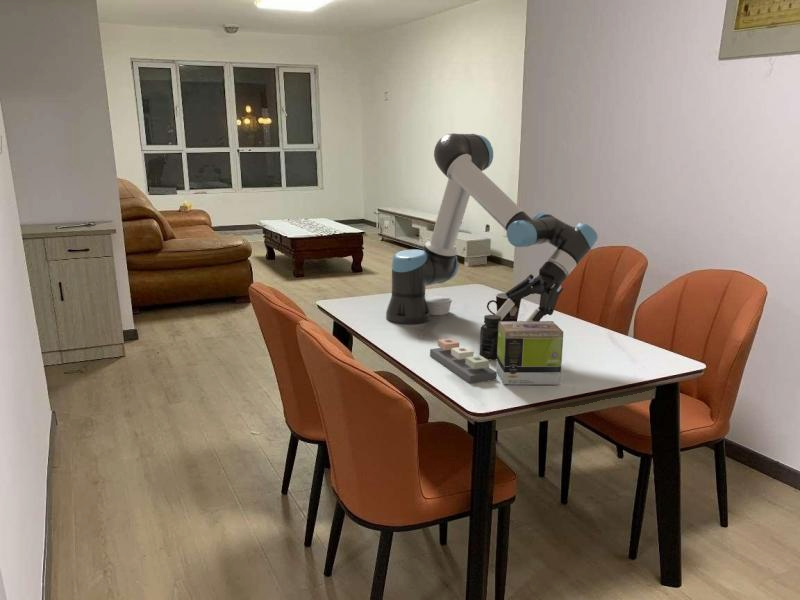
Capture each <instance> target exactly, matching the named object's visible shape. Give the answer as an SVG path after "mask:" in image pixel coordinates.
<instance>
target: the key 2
mask: <svg viewBox="0 0 800 600" xmlns="http://www.w3.org/2000/svg"><path fill="white" fill-rule="evenodd" d="M465 364H466V365H468V366H470V367H471V368H473V369H480V368H487V367H489V368H490V360H489V359H486V358H484V357H482V356H481V355H480V354H479V355H473V356H472V357H466V360H465Z"/></svg>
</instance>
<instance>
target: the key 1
mask: <svg viewBox="0 0 800 600" xmlns="http://www.w3.org/2000/svg"><path fill="white" fill-rule="evenodd" d="M437 347H438V348H442V349H443V350H445V351H446V350H451V348H457V347H460V342H459V341H457V340H455V339H454V338H453V337H450V338H443V339H442V338H441V339H437Z"/></svg>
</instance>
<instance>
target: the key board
mask: <svg viewBox="0 0 800 600" xmlns="http://www.w3.org/2000/svg"><path fill="white" fill-rule="evenodd" d="M429 357H431V358H432V357H433V358H432V359H434V360H435V359H436V362H438V361H439V362H438V363H440V364H442V365H443V366H444V367H445V368H447V369H449V370H450V371H451V372H453V373H454V374H455V375H457V376H458V377H460V378H461V379H463V380H465V381H466V383H468V384H475V383H476V384H477V383H482V381H483V382H488V380H490V381H495V380H494V379H496V380H497V375H498V373H497V371H496V370H493V369H492V368H490V366H489V367H487V368H480V369H473V368H471V367H470V366H468V365H466V364H465V360H466V359H457V358H456V357H454V356H453V355H451V350H446V351H445V350H443V349H442V348H440V347H438V348H430V350H429Z"/></svg>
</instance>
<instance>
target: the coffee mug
mask: <svg viewBox="0 0 800 600" xmlns="http://www.w3.org/2000/svg"><path fill="white" fill-rule="evenodd" d="M506 293H507V292H500V293H496V294H495V300H494V299H492V300H489V301H488V302H487V304H486V309H487V310H488V312H489V313H490V314H491V315H495V314H496V312H497V311H498V310H499V309H500V308H501V306H502V305H503V303H504V302H505V301H506V300H507V298H508V297H507V295H506ZM521 302H522V299H520V300H518V301H516V302H515V305H514V306H513V307H512V308H511V310H510V311H509V312H508V313H507V314H506V316H505V317H504V318H503V319H502V320H501V321H518V318H519V313H520V308H521ZM491 303H495V304H496V312H493V311H492V310H491V309H490V307H489V306H490V304H491Z"/></svg>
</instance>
